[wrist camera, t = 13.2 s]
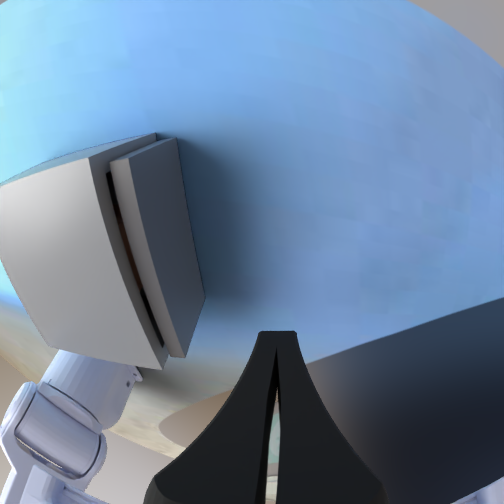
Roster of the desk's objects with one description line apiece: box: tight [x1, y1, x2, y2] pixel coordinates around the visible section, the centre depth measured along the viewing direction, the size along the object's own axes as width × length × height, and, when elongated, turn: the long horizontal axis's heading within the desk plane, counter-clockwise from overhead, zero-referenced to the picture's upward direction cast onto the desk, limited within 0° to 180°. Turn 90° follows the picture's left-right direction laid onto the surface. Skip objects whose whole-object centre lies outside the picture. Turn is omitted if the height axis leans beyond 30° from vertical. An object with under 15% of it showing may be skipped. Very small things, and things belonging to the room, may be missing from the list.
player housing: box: [0, 133, 169, 370], centre depth 16 cm, size 13×11×7 cm
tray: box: [105, 137, 205, 358], centre depth 16 cm, size 12×11×6 cm
